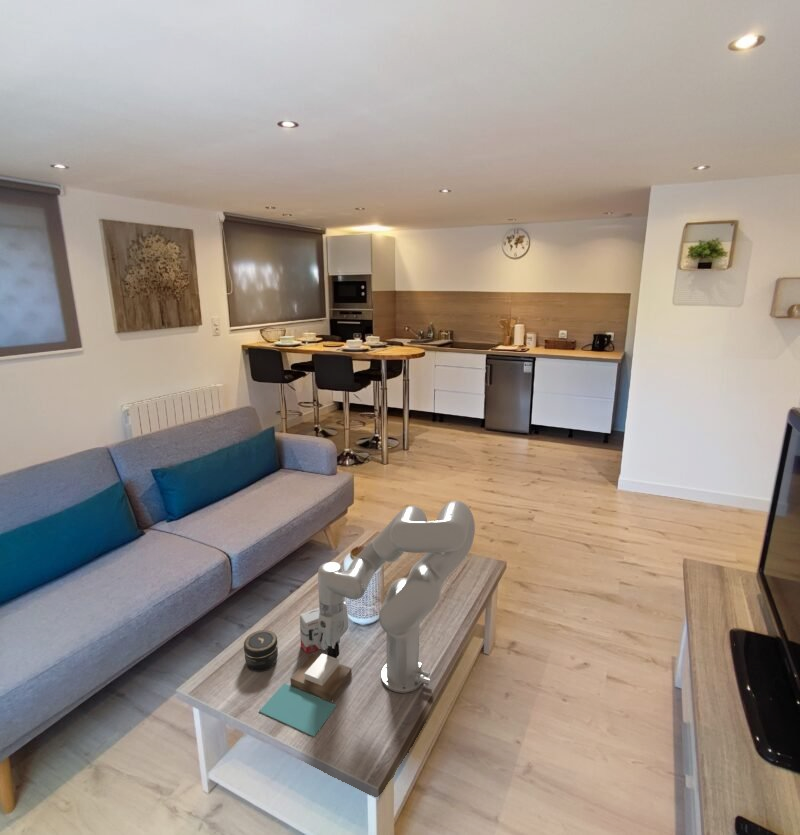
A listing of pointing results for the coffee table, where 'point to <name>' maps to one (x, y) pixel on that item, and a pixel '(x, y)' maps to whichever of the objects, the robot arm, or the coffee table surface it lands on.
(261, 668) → the jar
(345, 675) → the brown flat block
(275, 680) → the coffee table surface
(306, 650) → the ink box
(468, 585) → the coffee table surface
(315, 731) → the mat
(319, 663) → the white rubber eraser
